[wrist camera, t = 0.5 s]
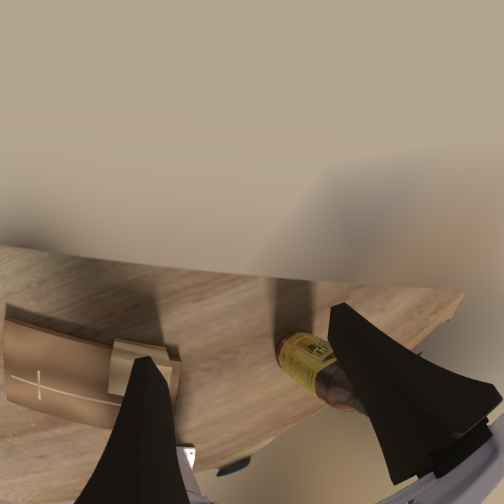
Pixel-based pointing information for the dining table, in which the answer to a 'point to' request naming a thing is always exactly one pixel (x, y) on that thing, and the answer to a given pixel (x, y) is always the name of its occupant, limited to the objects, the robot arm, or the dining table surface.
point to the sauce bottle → (318, 371)
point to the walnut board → (64, 374)
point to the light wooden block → (125, 357)
